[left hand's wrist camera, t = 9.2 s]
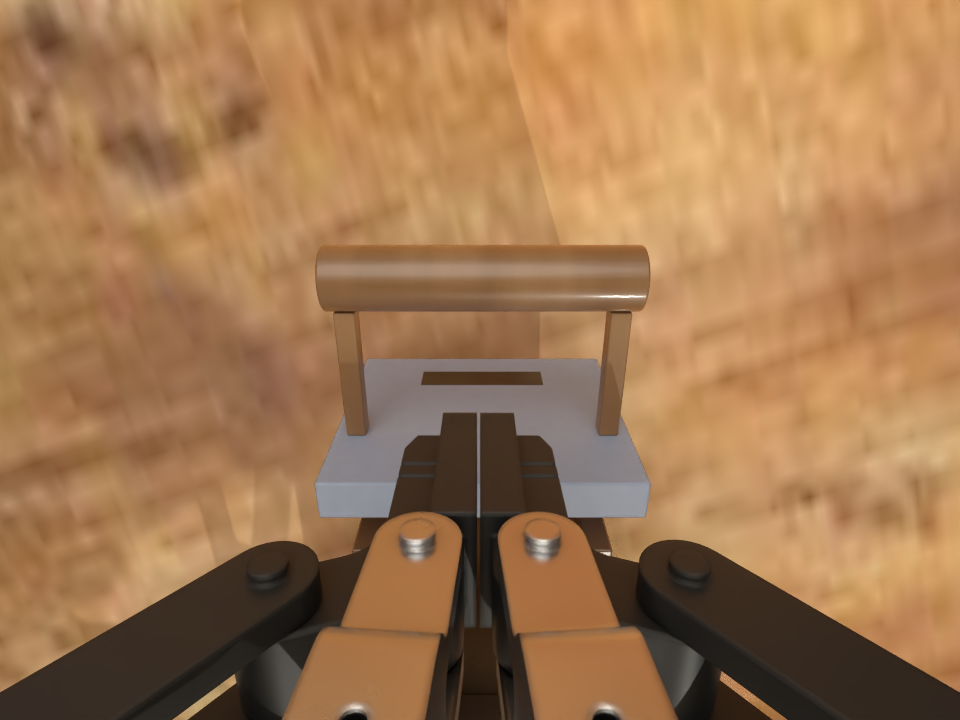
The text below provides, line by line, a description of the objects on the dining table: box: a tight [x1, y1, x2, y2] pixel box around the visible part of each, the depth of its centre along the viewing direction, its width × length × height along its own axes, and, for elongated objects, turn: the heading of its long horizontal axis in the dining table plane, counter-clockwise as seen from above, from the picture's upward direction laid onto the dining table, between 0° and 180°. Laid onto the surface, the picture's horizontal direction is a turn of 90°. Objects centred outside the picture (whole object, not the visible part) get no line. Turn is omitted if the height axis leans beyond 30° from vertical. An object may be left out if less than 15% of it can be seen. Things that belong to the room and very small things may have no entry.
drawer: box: [315, 245, 651, 720], centre depth 22 cm, size 25×9×8 cm, turn 0°
